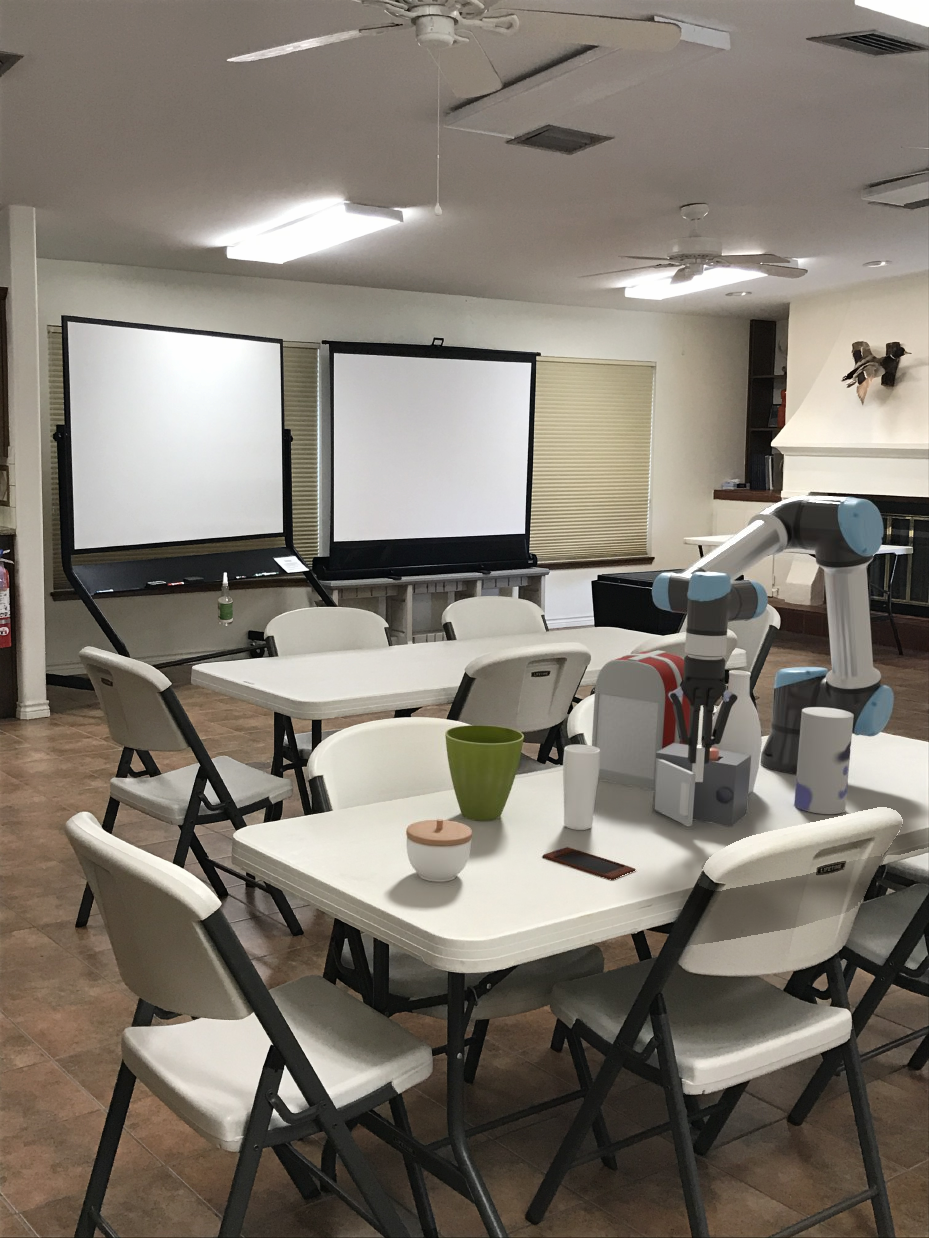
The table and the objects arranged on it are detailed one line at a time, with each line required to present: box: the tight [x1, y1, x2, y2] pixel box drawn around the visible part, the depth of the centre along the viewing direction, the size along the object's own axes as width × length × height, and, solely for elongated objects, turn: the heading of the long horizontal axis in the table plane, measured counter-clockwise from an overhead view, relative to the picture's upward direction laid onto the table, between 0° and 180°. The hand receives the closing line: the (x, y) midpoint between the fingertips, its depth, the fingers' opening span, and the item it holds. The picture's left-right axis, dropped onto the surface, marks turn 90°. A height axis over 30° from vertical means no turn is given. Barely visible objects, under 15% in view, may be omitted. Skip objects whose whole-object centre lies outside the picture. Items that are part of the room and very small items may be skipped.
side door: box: [652, 758, 695, 827], centre depth 228 cm, size 2×12×10 cm, turn 25°
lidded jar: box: [405, 818, 473, 883], centre depth 193 cm, size 11×11×9 cm
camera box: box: [652, 743, 751, 828], centre depth 234 cm, size 11×16×12 cm
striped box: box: [591, 649, 690, 792], centre depth 260 cm, size 16×18×27 cm
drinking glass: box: [562, 744, 600, 831], centre depth 222 cm, size 7×7×15 cm
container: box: [793, 707, 854, 815], centre depth 241 cm, size 10×10×20 cm
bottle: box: [711, 669, 763, 795], centre depth 252 cm, size 11×11×25 cm
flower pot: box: [444, 724, 525, 822], centre depth 226 cm, size 15×15×16 cm
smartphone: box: [541, 846, 637, 881], centre depth 203 cm, size 7×1×15 cm
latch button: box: [709, 748, 719, 761], centre depth 231 cm, size 3×3×2 cm
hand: (697, 779), depth 223 cm, fingers closed
